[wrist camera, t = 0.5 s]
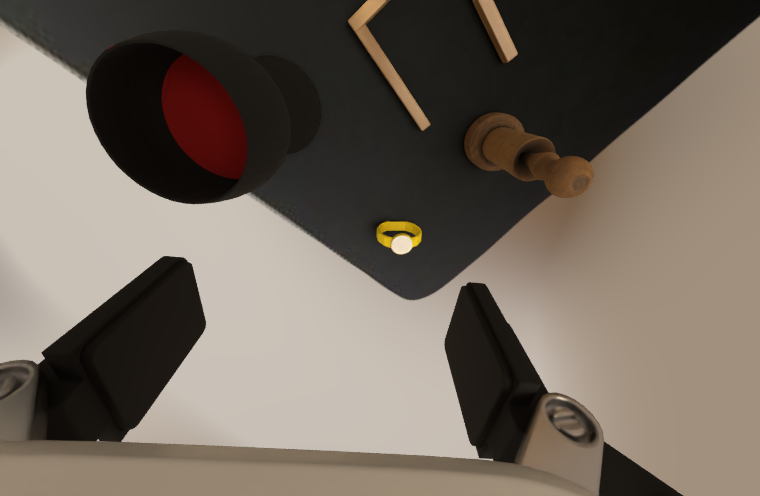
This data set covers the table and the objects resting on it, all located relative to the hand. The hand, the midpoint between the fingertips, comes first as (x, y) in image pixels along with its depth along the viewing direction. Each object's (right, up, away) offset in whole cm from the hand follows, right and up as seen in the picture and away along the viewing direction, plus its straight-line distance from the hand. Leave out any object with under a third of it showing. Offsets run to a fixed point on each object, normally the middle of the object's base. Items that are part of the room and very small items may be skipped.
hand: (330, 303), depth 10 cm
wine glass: (-10, +18, +24) cm, 32 cm away
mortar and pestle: (+16, +15, +26) cm, 34 cm away
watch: (+4, +5, +31) cm, 32 cm away
